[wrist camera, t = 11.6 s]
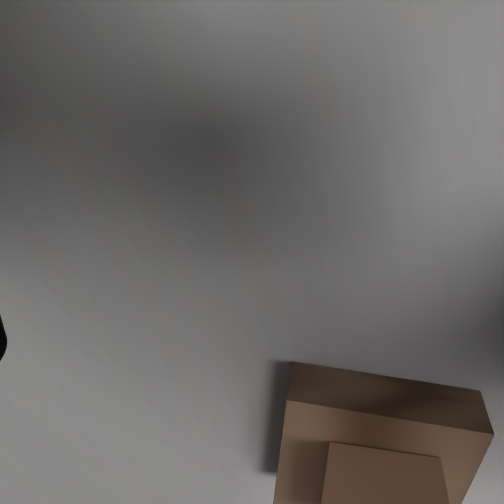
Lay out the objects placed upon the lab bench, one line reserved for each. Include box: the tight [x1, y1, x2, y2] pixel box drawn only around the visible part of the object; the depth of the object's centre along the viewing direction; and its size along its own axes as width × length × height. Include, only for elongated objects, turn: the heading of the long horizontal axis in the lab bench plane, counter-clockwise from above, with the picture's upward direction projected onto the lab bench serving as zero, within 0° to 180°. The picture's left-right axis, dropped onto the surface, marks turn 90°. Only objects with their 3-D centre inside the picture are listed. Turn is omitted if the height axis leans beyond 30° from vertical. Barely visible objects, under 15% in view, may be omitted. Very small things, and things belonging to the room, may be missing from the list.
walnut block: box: [273, 362, 494, 504], centre depth 25 cm, size 9×9×3 cm
